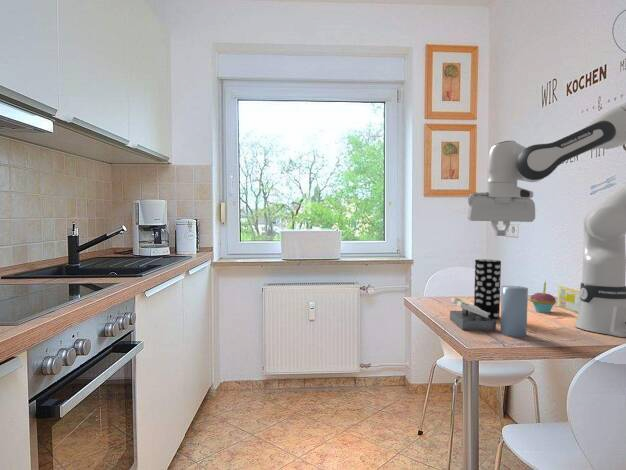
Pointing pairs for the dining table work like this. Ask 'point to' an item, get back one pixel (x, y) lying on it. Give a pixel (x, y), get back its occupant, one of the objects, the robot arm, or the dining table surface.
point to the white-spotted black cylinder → (487, 286)
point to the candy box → (569, 299)
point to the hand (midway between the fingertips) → (500, 235)
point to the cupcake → (543, 301)
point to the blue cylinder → (514, 311)
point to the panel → (472, 321)
